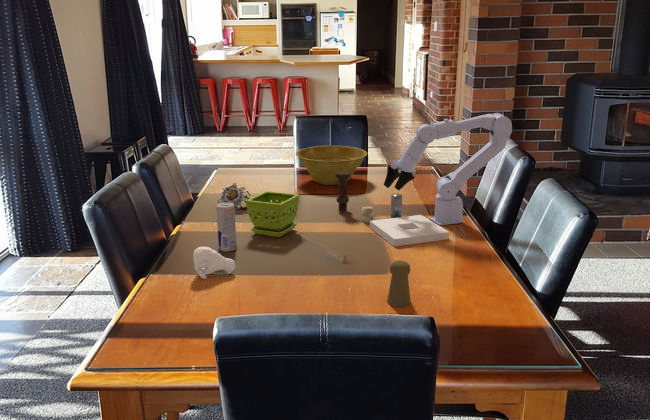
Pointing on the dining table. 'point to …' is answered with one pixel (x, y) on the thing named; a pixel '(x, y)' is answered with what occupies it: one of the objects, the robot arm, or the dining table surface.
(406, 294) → the pepper shaker
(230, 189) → the passion flower
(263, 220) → the flower pot
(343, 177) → the bolt
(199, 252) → the white rounded lumpy piece
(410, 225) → the hole plate
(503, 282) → the dining table surface
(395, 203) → the long pin
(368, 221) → the short pin
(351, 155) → the planter bowl
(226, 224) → the beverage can
